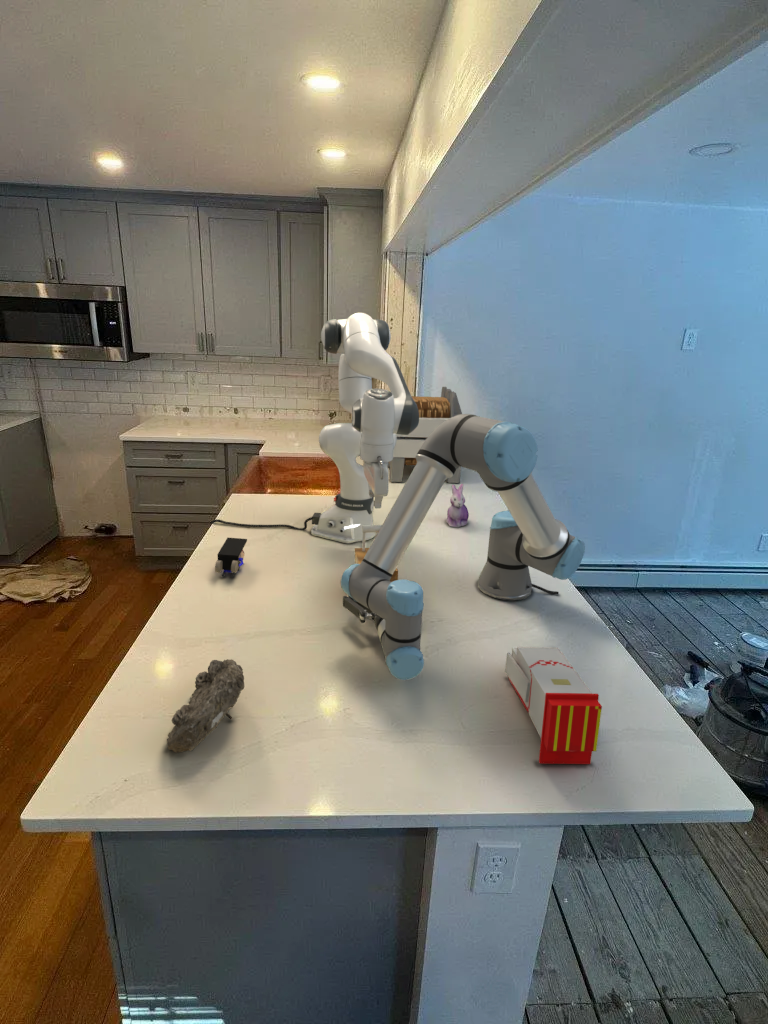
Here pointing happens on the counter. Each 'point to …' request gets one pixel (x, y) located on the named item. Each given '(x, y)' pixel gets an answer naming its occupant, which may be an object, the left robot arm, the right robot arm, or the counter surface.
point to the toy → (556, 704)
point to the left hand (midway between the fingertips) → (374, 501)
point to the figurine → (457, 508)
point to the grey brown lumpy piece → (206, 705)
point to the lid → (362, 551)
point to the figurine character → (230, 556)
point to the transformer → (424, 432)
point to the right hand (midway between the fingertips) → (378, 584)
